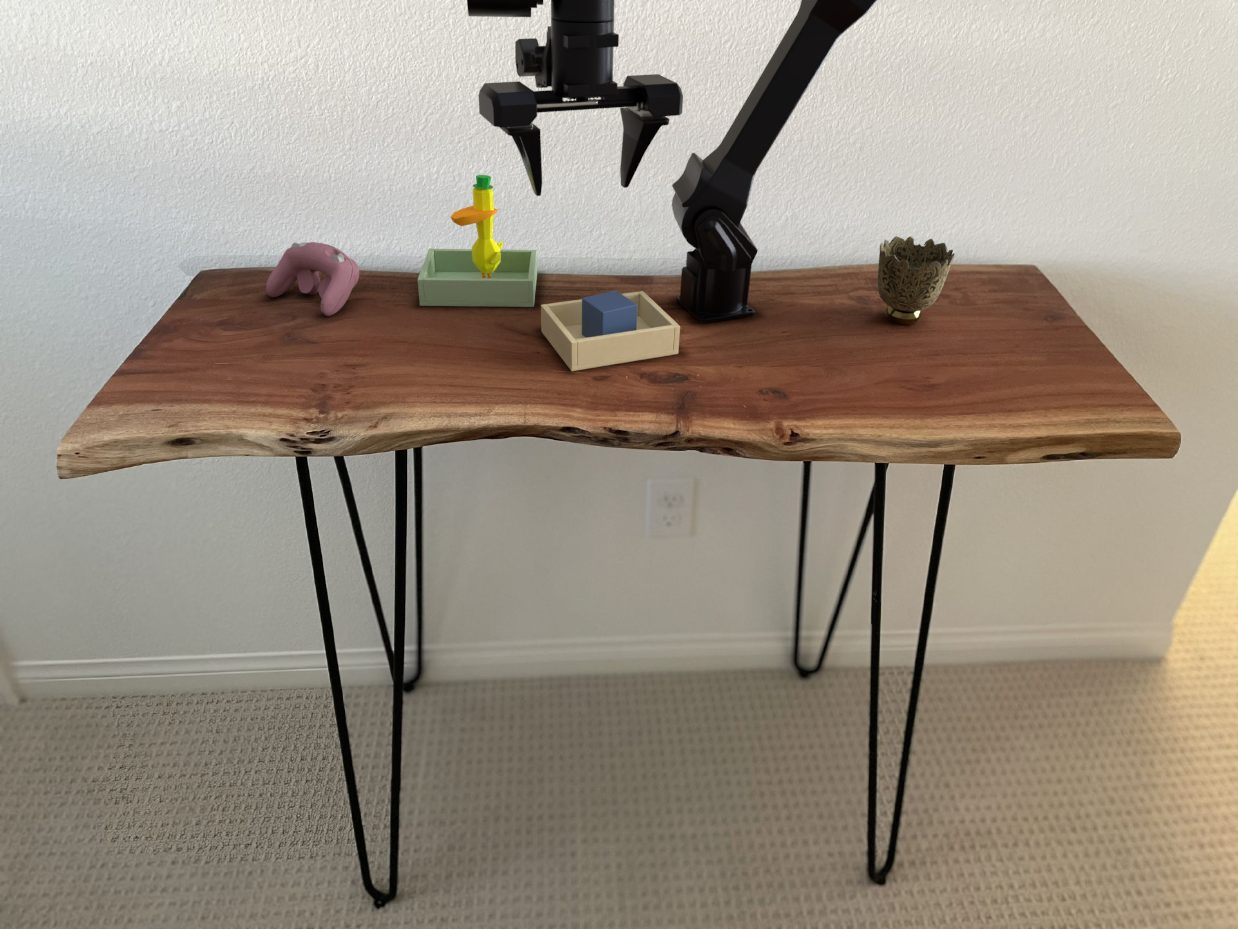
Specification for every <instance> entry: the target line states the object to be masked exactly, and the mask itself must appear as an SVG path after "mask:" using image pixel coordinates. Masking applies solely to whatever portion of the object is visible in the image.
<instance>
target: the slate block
mask: <svg viewBox="0 0 1238 929" xmlns="http://www.w3.org/2000/svg"><path fill="white" fill-rule="evenodd" d="M622 294H623V293H620V292H619V291H618V290H612V291H607V292H603V293H599V294H594V295H590V296H589V295H588V296H585V297H582V298H581V299H582V335H583V336H584V337H586V338H588V337H595V336H602V335H608V334H615V333H621V332H628V331H635V330H636V327H637V304H636V303H634V302H633V301H631V300H630V299H628V298H627V297H625V296H624V295H622Z"/></svg>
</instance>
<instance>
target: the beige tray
mask: <svg viewBox="0 0 1238 929" xmlns="http://www.w3.org/2000/svg"><path fill="white" fill-rule="evenodd" d="M621 294H622V295H624V296H625V297H627V298H628V299H630V300H631V301H633V302H634V303H636V304H637V327H636V330H635V331H628V332H621V333H615V334H608V335H602V336H595V337H588V338H586V337H584V336H583V335H582V298H581V299H574V300H567V301H566V300H565V301H559V302H552V303H544V304H541V305H540V323H541V324H540V326H541V328H540V329H541V331H540V332H541V333H542V335H543V336H544V337H545V338H546V339H547V341H548V342H549V344H550V345H551V347H553V349H554V350H555V351H556V353H557V354H558V355H559V357H560V358H561V359H562V360H563V362H564V363H565V365H566V366H567V368H568V369H569V370H570V371H571V372H576V371H581V370H588V369H594V368H601V367H606V366H607V367H608V366H613V365H617V364H624V363H630V362H631V363H632V362H636V361H643V360H649V359H655V358H656V359H657V358H661V357H669V356H673V355H678V354H679V348H680V347H679V346H680V334H681V333H680V332H681V326H680V325H679V324H678V323H677V322H676V321H675V320H674V319H673V318H672V317H671V316H670V315H669V314H668V313H667V312H666V311H665V310H663V309H662V308H661V306H660V305H658V303H656V302H655V301H654V300H653V299H652V298H651V297H650V296H649V295H648V294H647V293H646V292H645V291H643V290H640V291H632V292H625V293H621Z"/></svg>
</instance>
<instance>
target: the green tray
mask: <svg viewBox="0 0 1238 929" xmlns="http://www.w3.org/2000/svg"><path fill="white" fill-rule="evenodd" d="M427 250H428V251H427V253H426V256H425V258H424V262H423V264H422V266H421V269H420V272H419V274H418V277H417V279H416V280H417V289H418V300H419V306H420V307H490V308H491V307H492V308H493V307H494V308H496V307H498V308H499V307H501V308H502V307H503V308H504V307H507V308H509V307H510V308H511V307H512V308H534V307H535V300H536V290H537V279H538V254H537V253H538V252H537V249H501V250H500V252H501V260H500V263H499V265H498V266H497V268H496V269H495V271H494V272H492V273H491V278H488V274H487V273H485V277H486V278H482V273H481V272H480V270H479V269H478V268H477V266H476V265H475V263H474V262H473V259H472V248H428V249H427Z"/></svg>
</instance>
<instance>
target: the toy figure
mask: <svg viewBox="0 0 1238 929" xmlns="http://www.w3.org/2000/svg"><path fill="white" fill-rule="evenodd" d="M475 180H476V183H473V184H472V187H473V188H472V202H473V205H470V206H467V207H463V208H461V209H458V210H455V211H454V212H453V213H452V214H451V215H450V220H451V221H452V222H453V223H454V224H456V225H458V226H460V227H465V226H469V225H473V224H475V227H476V232H477V239H476V240H475V242H474V243H473V245H472V246H471V249H472V259H473V262H474V263H475V265H476V266H477V268H478V269H479V270H480V272H481V273H482V278H486V277H485V273H487V274H488V278H491V273H492V272H494V271H495V269H496V268H497V266H498V265H499V263H500V260H501V252H500V250H502V248H503V245H504V243H505V240H503V241H500V242H496V241H495V239H494V238H493V235H494V234H493V233H494V232H493V231H494V218H495V214H497V213H498V212H499V209H497V208H495V206H494V204H495V203H494V186H493V185H491V180H492V176H490V175H486V174H476V175H475Z"/></svg>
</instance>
